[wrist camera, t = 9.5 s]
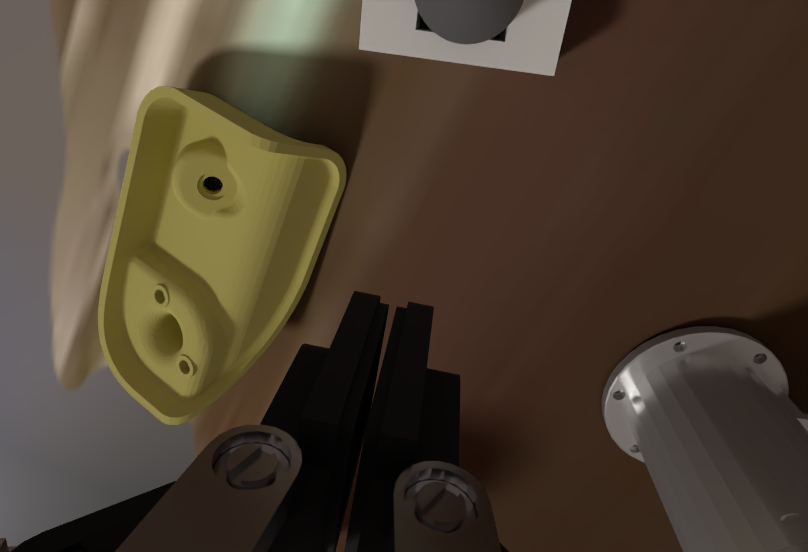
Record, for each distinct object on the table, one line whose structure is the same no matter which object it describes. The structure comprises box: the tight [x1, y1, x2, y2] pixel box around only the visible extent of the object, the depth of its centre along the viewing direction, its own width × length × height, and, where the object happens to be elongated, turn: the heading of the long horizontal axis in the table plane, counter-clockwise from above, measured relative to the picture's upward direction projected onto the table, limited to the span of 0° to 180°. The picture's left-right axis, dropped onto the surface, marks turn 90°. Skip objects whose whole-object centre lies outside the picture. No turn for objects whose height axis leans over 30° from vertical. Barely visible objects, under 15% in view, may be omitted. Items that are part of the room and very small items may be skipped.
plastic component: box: [98, 86, 347, 425], centre depth 35 cm, size 20×8×10 cm
